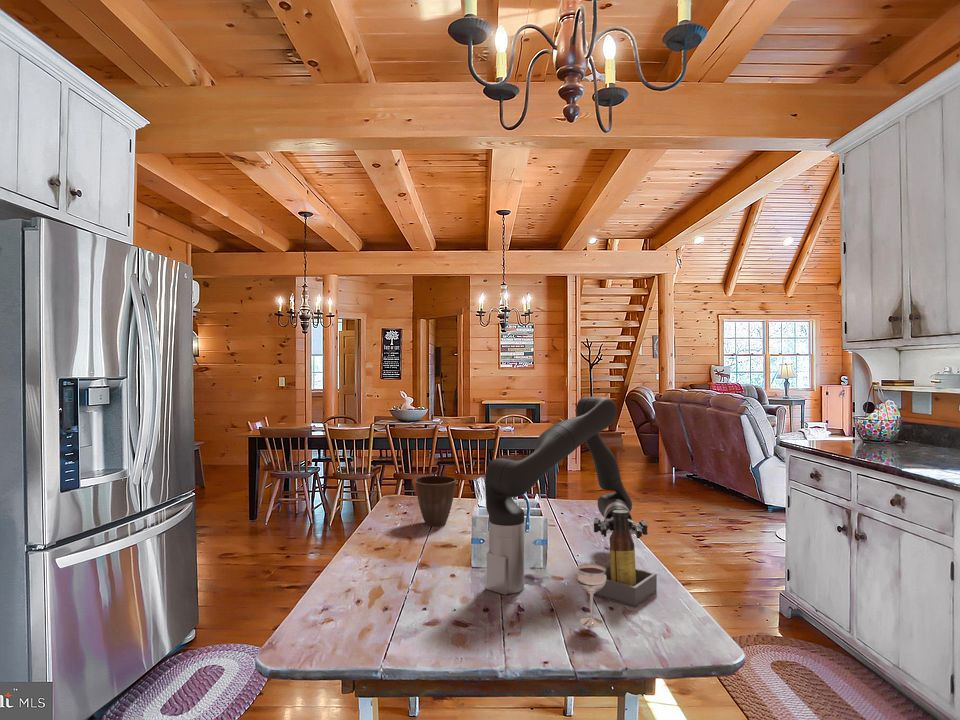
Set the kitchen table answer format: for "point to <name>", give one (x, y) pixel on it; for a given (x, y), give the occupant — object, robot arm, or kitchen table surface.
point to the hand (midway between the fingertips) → (621, 533)
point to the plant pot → (435, 498)
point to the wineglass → (591, 587)
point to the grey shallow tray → (629, 588)
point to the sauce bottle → (622, 550)
